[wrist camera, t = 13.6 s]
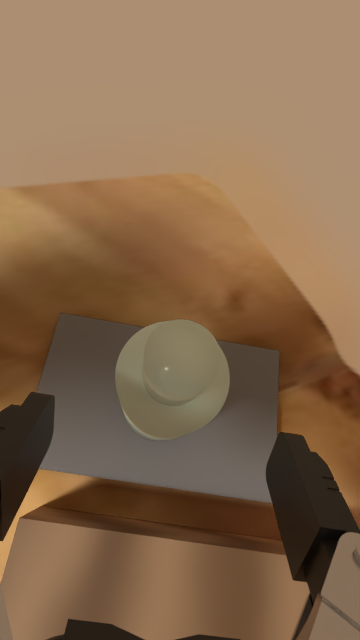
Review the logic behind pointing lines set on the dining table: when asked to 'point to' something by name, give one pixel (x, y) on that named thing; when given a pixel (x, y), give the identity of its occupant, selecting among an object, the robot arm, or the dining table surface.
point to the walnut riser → (146, 579)
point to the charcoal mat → (148, 456)
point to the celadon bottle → (171, 379)
